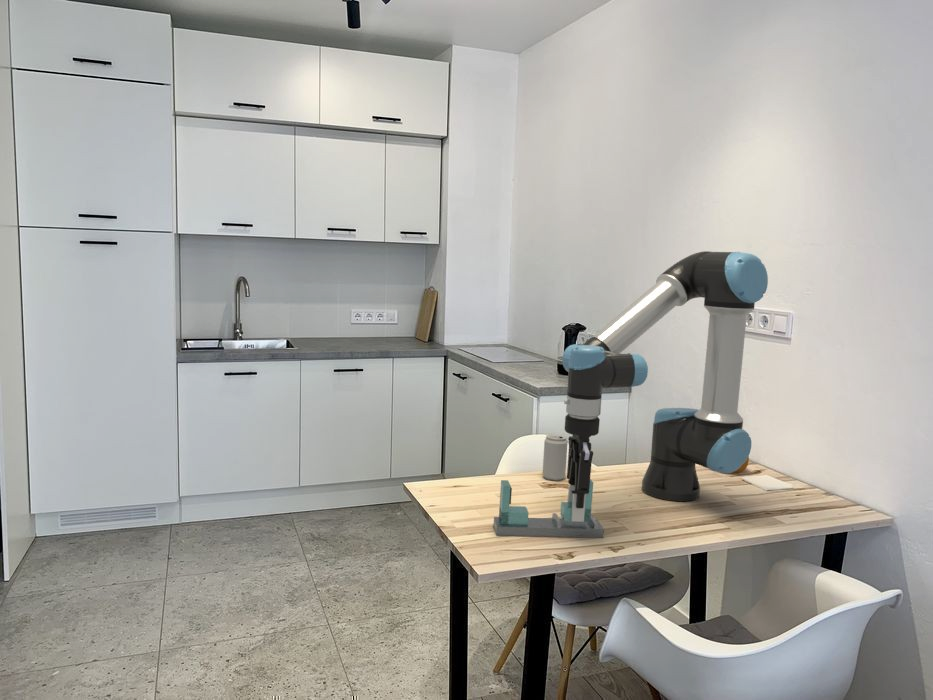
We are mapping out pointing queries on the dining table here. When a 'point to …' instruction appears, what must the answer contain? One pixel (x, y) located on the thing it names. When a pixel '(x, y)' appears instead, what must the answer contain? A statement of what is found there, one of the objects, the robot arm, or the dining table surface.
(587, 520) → the teal block
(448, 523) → the dining table surface
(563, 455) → the beverage can
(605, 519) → the dining table surface
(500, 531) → the rail
